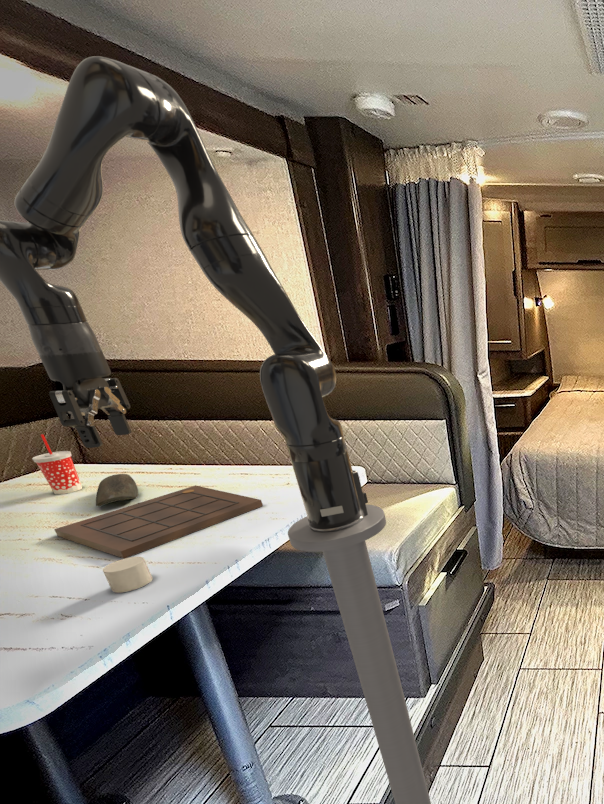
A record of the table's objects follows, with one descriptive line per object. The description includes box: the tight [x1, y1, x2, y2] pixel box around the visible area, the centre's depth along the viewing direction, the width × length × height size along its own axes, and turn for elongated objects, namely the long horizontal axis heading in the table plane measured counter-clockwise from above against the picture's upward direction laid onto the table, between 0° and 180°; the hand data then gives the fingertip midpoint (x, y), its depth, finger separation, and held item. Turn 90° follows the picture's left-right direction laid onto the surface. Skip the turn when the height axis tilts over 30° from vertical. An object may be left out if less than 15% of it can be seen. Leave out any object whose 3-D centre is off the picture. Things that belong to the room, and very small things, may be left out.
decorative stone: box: [95, 473, 139, 507], centre depth 115 cm, size 17×6×4 cm, turn 41°
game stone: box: [102, 556, 154, 594], centre depth 80 cm, size 5×5×4 cm
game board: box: [54, 485, 264, 559], centre depth 103 cm, size 24×24×2 cm
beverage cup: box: [31, 433, 83, 495], centre depth 118 cm, size 6×6×14 cm
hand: (110, 440), depth 92 cm, fingers open, 8 cm apart
